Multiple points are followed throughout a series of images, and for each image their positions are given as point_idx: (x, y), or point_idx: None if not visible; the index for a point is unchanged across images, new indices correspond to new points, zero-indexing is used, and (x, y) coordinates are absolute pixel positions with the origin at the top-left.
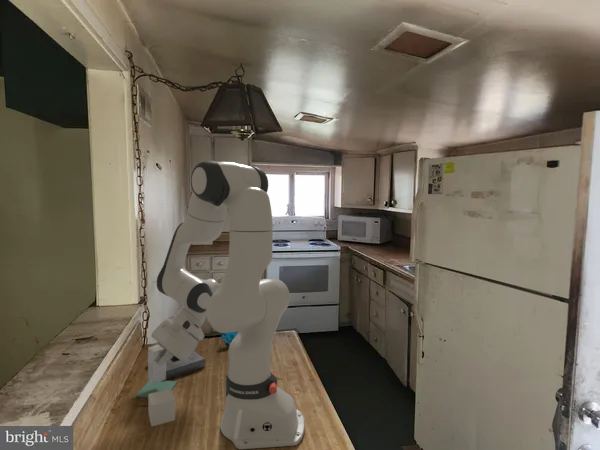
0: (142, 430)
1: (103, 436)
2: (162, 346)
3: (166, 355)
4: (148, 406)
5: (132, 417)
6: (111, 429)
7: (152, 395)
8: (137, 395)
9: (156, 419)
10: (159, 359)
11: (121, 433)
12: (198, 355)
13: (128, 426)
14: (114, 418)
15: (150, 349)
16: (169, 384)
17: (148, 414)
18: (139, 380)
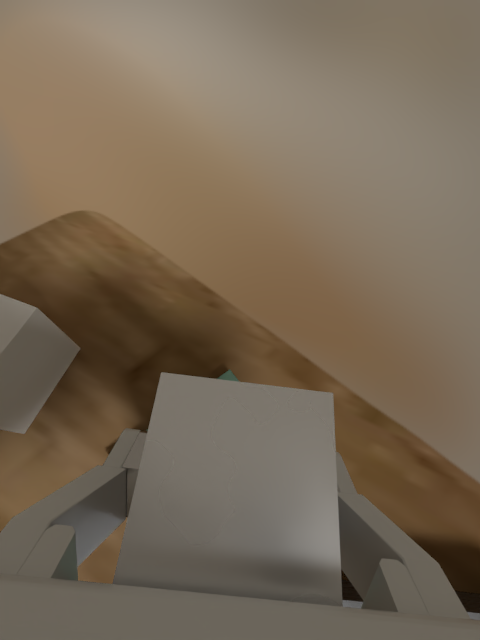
0: (19, 292)
1: (105, 221)
2: (231, 588)
3: (24, 511)
4: (65, 334)
5: (115, 304)
6: (115, 243)
7: (3, 312)
8: (224, 373)
9: None
10: (141, 453)
11: (70, 251)
12: None
13: (82, 276)
14: (160, 269)
15: (256, 384)
16: None
17: (78, 347)
18: (358, 451)
